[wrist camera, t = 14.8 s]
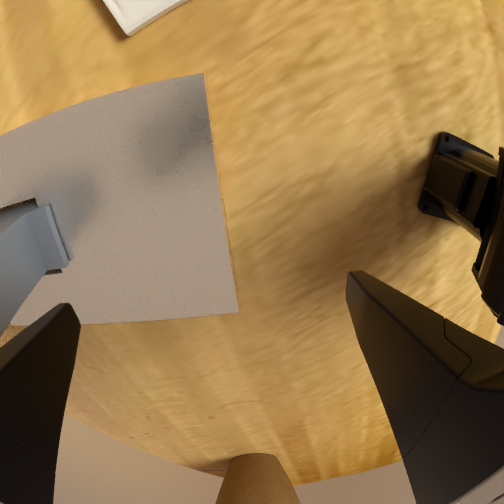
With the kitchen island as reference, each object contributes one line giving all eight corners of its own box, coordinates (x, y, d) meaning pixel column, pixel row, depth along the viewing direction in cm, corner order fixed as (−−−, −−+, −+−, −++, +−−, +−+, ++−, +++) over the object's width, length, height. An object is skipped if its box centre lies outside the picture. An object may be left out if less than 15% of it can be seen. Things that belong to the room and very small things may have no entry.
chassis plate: (206, 75, 16) (203, 73, 14) (238, 295, 24) (238, 312, 22) (-40, 159, 16) (-55, 166, 14) (20, 312, 24) (11, 325, 22)
